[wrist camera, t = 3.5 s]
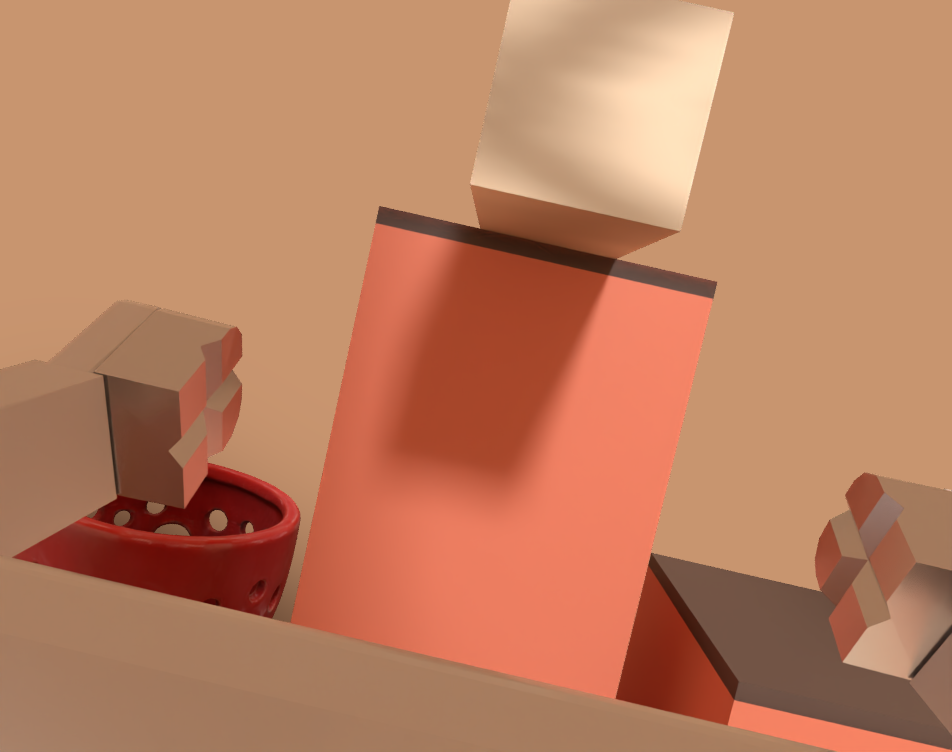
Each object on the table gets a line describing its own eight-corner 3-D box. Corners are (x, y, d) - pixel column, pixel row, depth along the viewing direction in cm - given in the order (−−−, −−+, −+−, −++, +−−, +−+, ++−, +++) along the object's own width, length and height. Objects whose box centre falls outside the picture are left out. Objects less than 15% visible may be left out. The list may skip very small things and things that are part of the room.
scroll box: (466, 186, 14) (516, -39, 14) (484, 252, 31) (506, 151, 31) (682, 234, 14) (737, 10, 14) (583, 274, 31) (607, 174, 31)
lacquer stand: (155, 1145, 21) (358, 184, 19) (283, 836, 33) (412, 240, 31) (961, 1336, 20) (1245, 383, 19) (785, 953, 33) (944, 359, 31)
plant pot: (-80, 699, 37) (-36, 457, 36) (149, 630, 49) (186, 445, 48) (95, 835, 31) (152, 549, 30) (308, 719, 43) (353, 510, 42)
